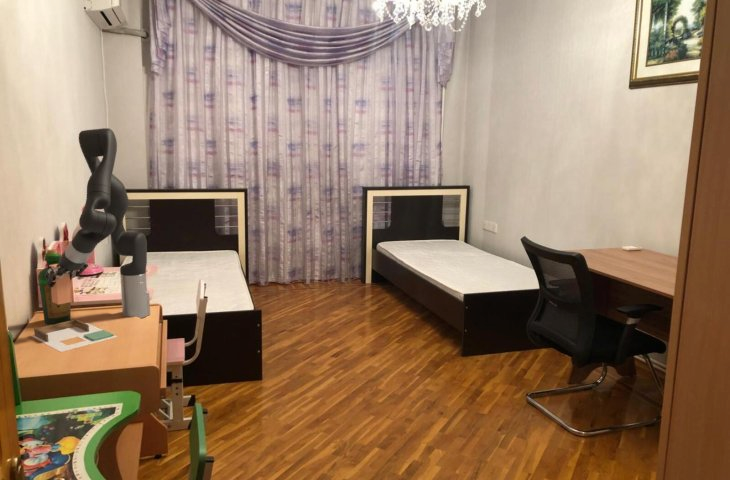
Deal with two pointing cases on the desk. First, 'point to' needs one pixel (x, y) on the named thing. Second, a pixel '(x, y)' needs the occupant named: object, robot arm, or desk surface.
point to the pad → (98, 335)
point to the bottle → (51, 310)
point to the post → (61, 289)
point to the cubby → (59, 328)
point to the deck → (70, 333)
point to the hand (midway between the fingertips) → (57, 283)
